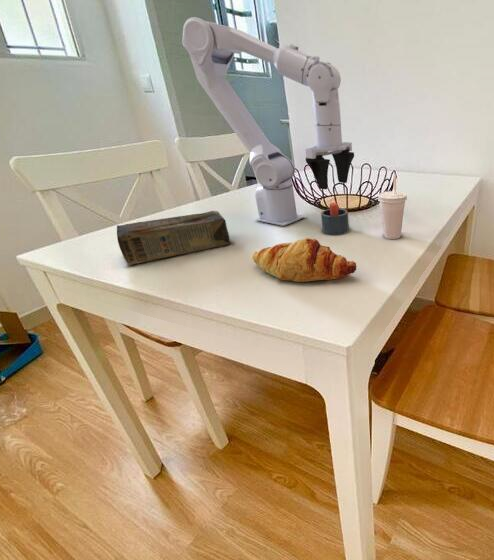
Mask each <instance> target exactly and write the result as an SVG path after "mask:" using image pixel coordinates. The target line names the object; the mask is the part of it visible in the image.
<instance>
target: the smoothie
mask: <svg viewBox="0 0 494 560" xmlns="http://www.w3.org/2000/svg"><path fill="white" fill-rule="evenodd" d="M407 196H408V195H407V193H406V192H403V191H398V190H397V174H395V173H393V190H388V191H382V192H380V193H379V194H378V195H377V200H378V201H379V206H380V214H381V221H382V227H383V235H384V238H385V239H388V240H396V239H399V238H401V236H402V227H403V220H404V212H405V206H406V201H407V200H408V197H407Z"/></svg>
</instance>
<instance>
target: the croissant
mask: <svg viewBox="0 0 494 560" xmlns="http://www.w3.org/2000/svg"><path fill="white" fill-rule="evenodd" d="M252 261H253V262H254V263H255V264H256V265H257V266H258V267H259V268H260V270H262V271H263V272H265V273H267V274H268V275H270V276H273V277H275V278H277V279H279V281H291V282H297V283H308V282H316V281H331V280H337V279H338V280H339V279H343V278H345V277H347V276H349V275H351V274H354V273H355V272H356V270H357V263H356V262H355V261H353V260H351V261H350V260H347V258H346V257H345V256H344V255H341V254H337V253H335V252H333V250H332V249H331V248H330V246H326V245H322V244H321V243H320V242H319V240H317V239H316V238H312V237H305V238H302V239H297V240H295V241H294V242H282V243H281V242H280V243H277V244H275V245H274V246H273V245H272V246H269V247H263V248H261V249H260V250H259V251H254V252H253V254H252Z"/></svg>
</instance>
